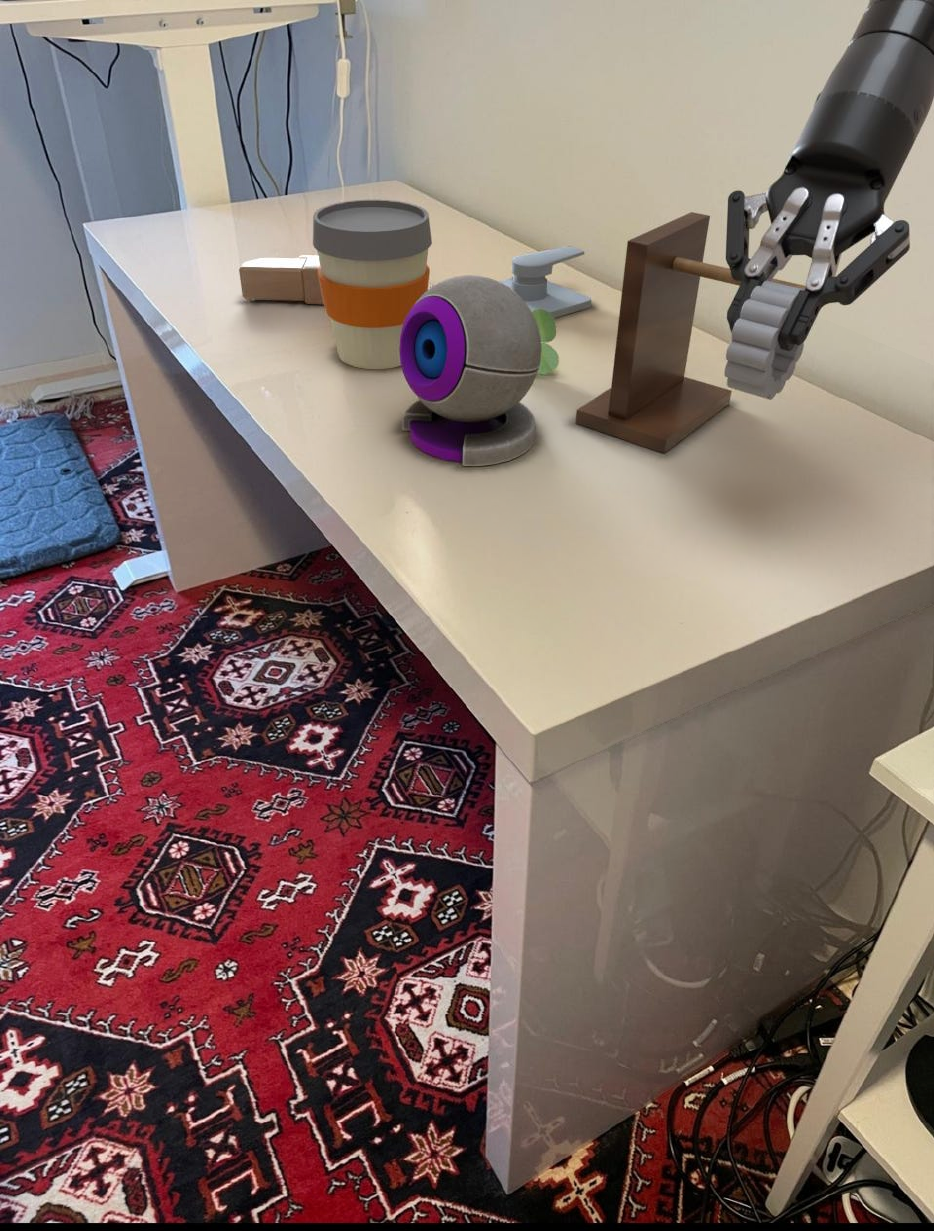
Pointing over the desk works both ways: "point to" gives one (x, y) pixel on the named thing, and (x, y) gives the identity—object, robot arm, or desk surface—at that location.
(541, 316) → the seedling
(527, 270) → the shower valve
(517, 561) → the desk surface
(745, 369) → the grey scalloped ring
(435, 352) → the webcam
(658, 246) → the rack
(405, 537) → the desk surface
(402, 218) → the reusable coffee cup
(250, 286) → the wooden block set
